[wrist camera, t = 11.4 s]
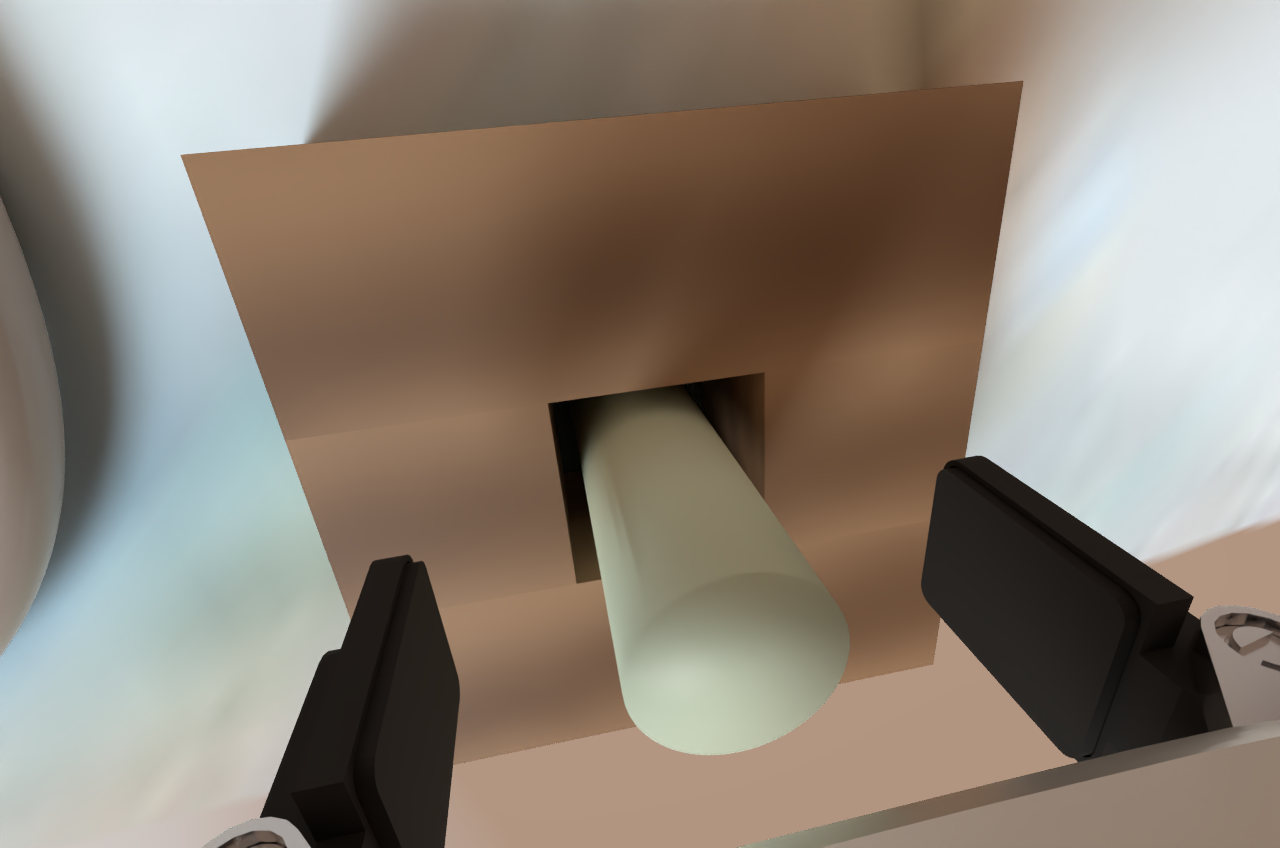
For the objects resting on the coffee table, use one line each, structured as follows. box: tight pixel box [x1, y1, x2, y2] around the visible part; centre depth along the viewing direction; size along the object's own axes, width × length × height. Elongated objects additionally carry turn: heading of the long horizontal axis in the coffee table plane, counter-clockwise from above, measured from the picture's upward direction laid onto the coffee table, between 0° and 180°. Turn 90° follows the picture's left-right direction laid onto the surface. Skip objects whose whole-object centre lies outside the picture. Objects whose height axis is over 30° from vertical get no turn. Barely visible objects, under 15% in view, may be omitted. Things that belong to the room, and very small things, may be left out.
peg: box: [570, 384, 850, 755], centre depth 15 cm, size 4×4×12 cm
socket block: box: [181, 81, 1023, 765], centre depth 17 cm, size 16×16×6 cm
